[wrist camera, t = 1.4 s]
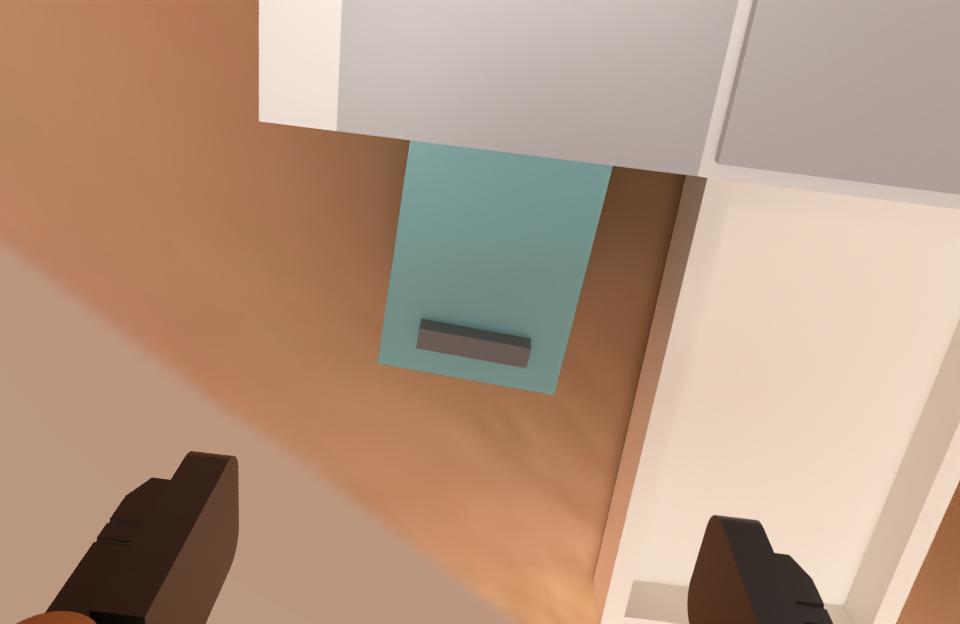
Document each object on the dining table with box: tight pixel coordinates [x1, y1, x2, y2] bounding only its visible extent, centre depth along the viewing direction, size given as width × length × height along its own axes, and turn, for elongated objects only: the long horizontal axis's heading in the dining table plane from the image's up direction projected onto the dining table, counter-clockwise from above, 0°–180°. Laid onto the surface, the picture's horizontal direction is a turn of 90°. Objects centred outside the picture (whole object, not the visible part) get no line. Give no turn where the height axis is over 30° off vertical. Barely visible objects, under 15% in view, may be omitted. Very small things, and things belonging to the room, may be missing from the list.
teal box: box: [378, 140, 613, 395], centre depth 22 cm, size 5×13×7 cm, turn 170°
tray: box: [593, 175, 960, 624], centre depth 28 cm, size 11×18×3 cm, turn 173°
